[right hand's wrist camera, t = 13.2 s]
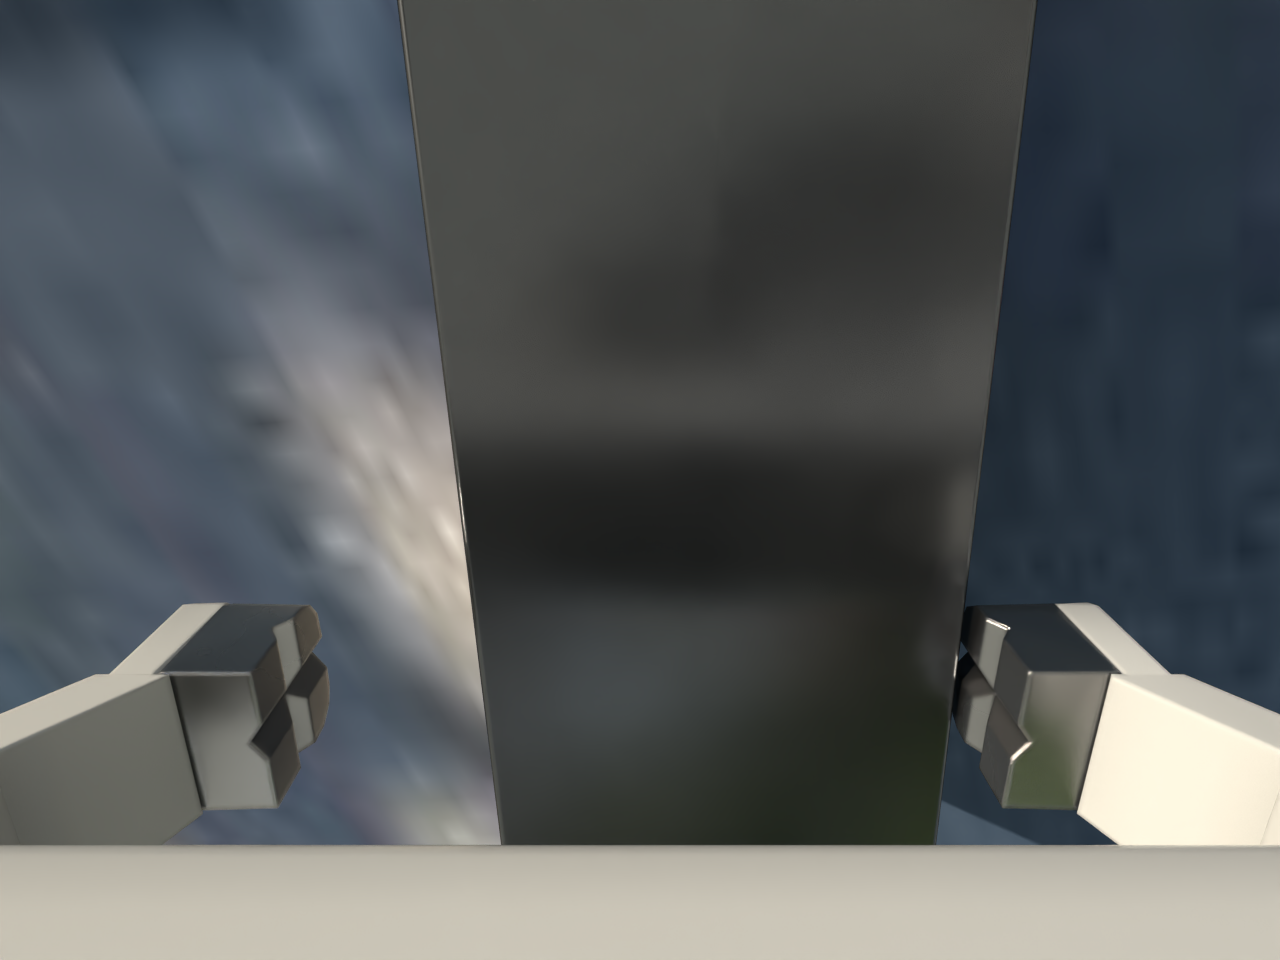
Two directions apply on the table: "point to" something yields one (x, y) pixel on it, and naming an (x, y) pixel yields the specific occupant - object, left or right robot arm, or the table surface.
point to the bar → (717, 395)
